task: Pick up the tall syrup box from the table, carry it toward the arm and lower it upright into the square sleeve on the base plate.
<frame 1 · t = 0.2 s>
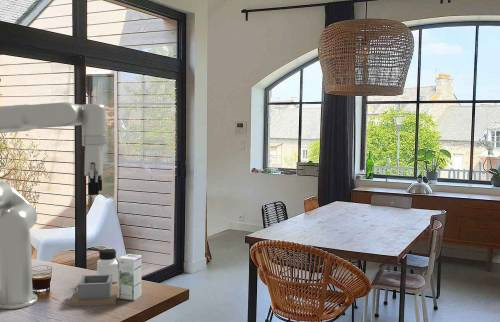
hand: (95, 192, 165), 36 cm above the table, tool pointing down, fingers open, 9 cm apart
socket: (95, 298, 168), on the table
syrup box: (130, 298, 169), on the table
medicine bottle: (107, 281, 187), on the table
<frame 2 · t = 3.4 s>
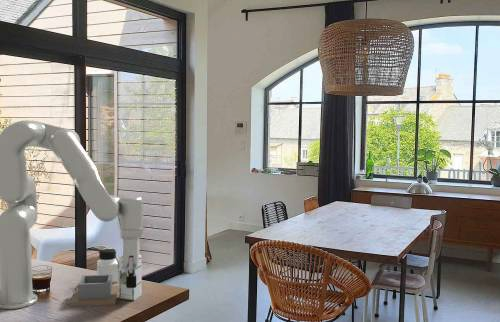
hand: (132, 283, 169), 5 cm above the table, tool pointing down, fingers closed on syrup box, 7 cm apart
syrup box: (130, 298, 169), on the table, touching gripper
everything else where it was.
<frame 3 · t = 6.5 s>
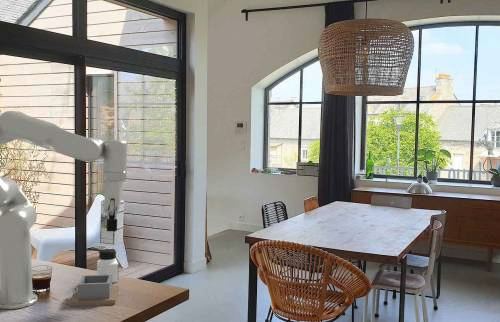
hand: (113, 228, 167), 24 cm above the table, tool pointing down, fingers closed on syrup box, 7 cm apart
syrup box: (111, 243, 167), point 19 cm above the table, touching gripper
everything else where it was.
when the fingers open (7 cm above the table, at t = 9.9 s): syrup box stays where it is, resting on socket.
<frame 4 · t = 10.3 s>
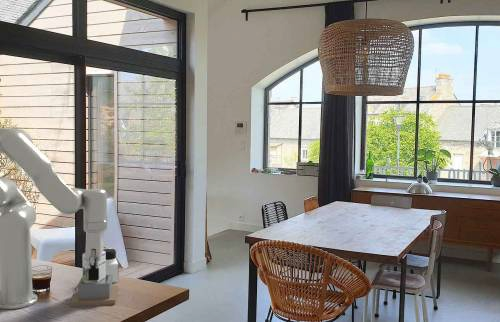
hand: (95, 275, 168), 8 cm above the table, tool pointing down, fingers open, 9 cm apart
syrup box: (94, 294, 168), point 1 cm above the table, touching socket
everything else where it was.
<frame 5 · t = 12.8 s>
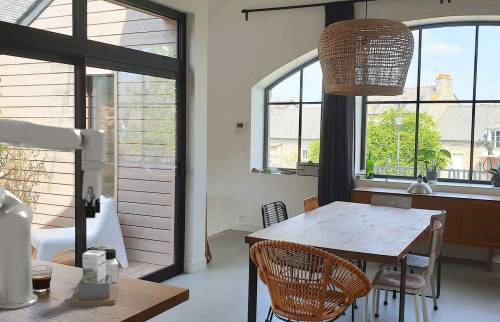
hand: (92, 215, 169), 28 cm above the table, tool pointing down, fingers open, 9 cm apart
nothing on the table moved.
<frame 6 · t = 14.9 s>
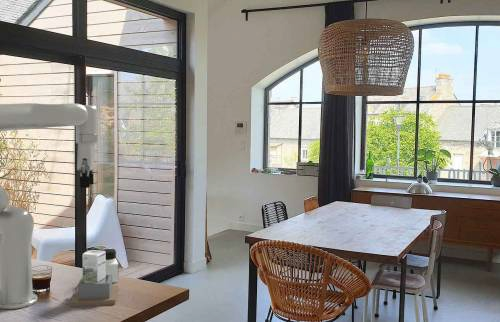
hand: (87, 185, 181), 36 cm above the table, tool pointing down, fingers open, 9 cm apart
nothing on the table moved.
at the end: syrup box 0.4 cm off-centre on the socket, point 1.3 cm above the socket's base; syrup box tilted 0°; the gripper is holding nothing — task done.
